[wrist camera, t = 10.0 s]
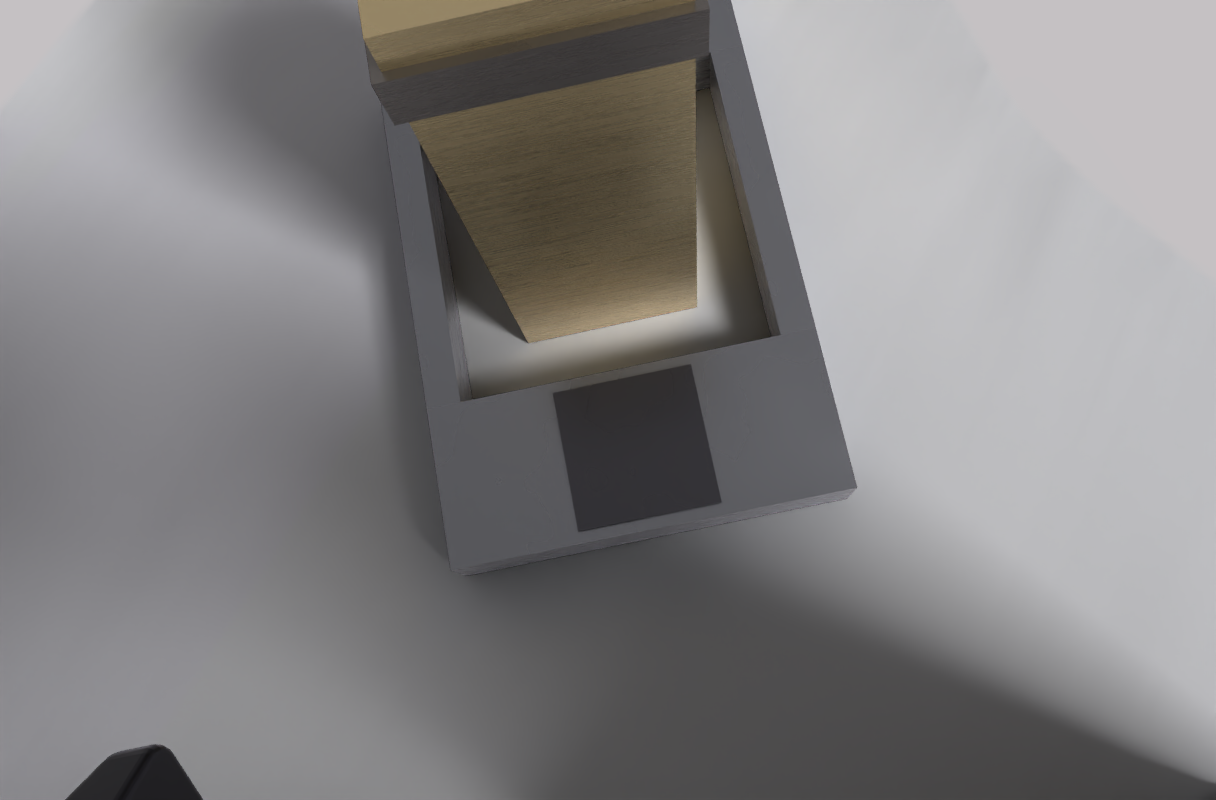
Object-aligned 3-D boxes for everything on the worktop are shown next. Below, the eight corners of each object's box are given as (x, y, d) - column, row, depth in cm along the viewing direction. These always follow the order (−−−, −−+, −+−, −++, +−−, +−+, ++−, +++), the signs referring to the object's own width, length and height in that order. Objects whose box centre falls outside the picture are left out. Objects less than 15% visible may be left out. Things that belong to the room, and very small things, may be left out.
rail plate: (846, 498, 22) (857, 486, 20) (466, 575, 22) (449, 569, 21) (726, 28, 25) (728, -13, 24) (394, 102, 25) (374, 66, 24)
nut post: (704, 311, 23) (710, -29, 12) (523, 350, 23) (352, 52, 12) (666, 147, 24) (637, -312, 13) (493, 185, 25) (310, -234, 13)
